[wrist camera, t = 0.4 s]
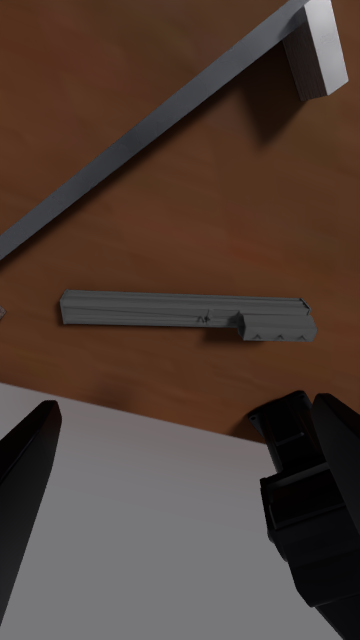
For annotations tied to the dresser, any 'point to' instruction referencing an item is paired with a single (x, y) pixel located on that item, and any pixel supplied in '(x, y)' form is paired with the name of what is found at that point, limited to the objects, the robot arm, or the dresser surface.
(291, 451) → the robot arm
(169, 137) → the dresser surface
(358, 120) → the dresser surface
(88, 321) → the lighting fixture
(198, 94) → the end cap rail
